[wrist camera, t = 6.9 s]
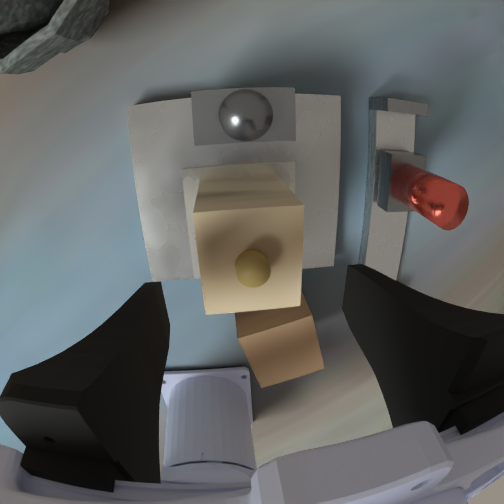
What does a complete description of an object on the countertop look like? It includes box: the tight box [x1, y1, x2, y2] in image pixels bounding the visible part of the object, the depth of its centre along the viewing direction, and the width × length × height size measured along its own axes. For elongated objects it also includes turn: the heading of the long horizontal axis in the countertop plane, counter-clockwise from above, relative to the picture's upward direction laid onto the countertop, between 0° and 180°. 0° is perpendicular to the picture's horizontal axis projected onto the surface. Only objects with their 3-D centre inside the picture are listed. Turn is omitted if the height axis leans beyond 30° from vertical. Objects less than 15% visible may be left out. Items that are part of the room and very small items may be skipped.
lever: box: [377, 150, 469, 230], centre depth 16 cm, size 4×3×6 cm
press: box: [127, 87, 341, 281], centre depth 16 cm, size 11×12×7 cm
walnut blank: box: [235, 291, 325, 388], centre depth 21 cm, size 5×4×5 cm
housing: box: [193, 177, 304, 315], centre depth 16 cm, size 5×4×6 cm
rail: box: [359, 98, 428, 280], centre depth 20 cm, size 15×3×2 cm, turn 2°
